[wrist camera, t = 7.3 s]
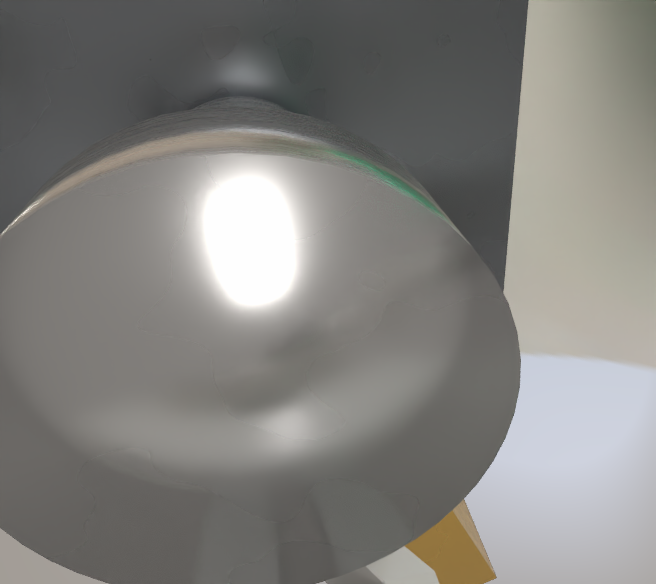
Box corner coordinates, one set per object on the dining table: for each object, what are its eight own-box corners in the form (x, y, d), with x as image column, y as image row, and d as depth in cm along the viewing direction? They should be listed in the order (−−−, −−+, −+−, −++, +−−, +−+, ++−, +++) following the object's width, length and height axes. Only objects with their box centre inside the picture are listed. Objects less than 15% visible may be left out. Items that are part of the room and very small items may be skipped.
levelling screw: (36, 136, 10) (-238, 373, 4) (294, -24, 10) (385, 1, 4) (325, 481, 16) (374, 777, 10) (498, 399, 16) (657, 668, 10)
